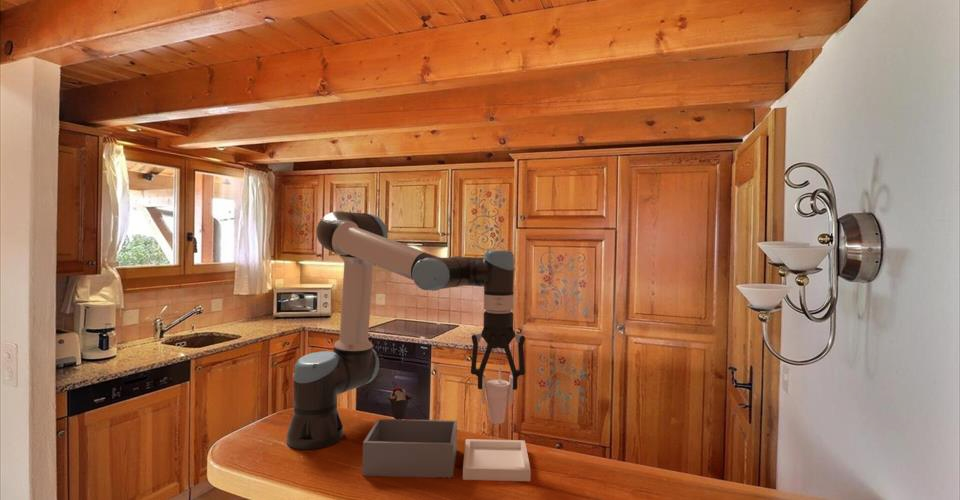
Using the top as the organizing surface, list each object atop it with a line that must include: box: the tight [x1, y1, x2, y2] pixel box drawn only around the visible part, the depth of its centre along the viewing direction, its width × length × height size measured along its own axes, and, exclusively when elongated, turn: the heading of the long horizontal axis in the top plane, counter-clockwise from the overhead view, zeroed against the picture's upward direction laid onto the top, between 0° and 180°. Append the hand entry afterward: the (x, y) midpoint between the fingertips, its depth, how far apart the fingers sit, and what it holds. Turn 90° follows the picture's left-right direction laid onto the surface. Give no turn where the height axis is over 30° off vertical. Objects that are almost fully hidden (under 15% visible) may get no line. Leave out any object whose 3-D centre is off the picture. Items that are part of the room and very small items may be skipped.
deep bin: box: [362, 418, 458, 479], centre depth 115 cm, size 22×15×8 cm
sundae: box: [387, 381, 412, 419], centre depth 134 cm, size 7×7×15 cm
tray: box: [462, 438, 531, 482], centre depth 115 cm, size 16×16×3 cm
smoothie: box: [485, 365, 510, 425], centre depth 115 cm, size 6×6×14 cm
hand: (497, 401), depth 115 cm, fingers closed on smoothie, 6 cm apart
